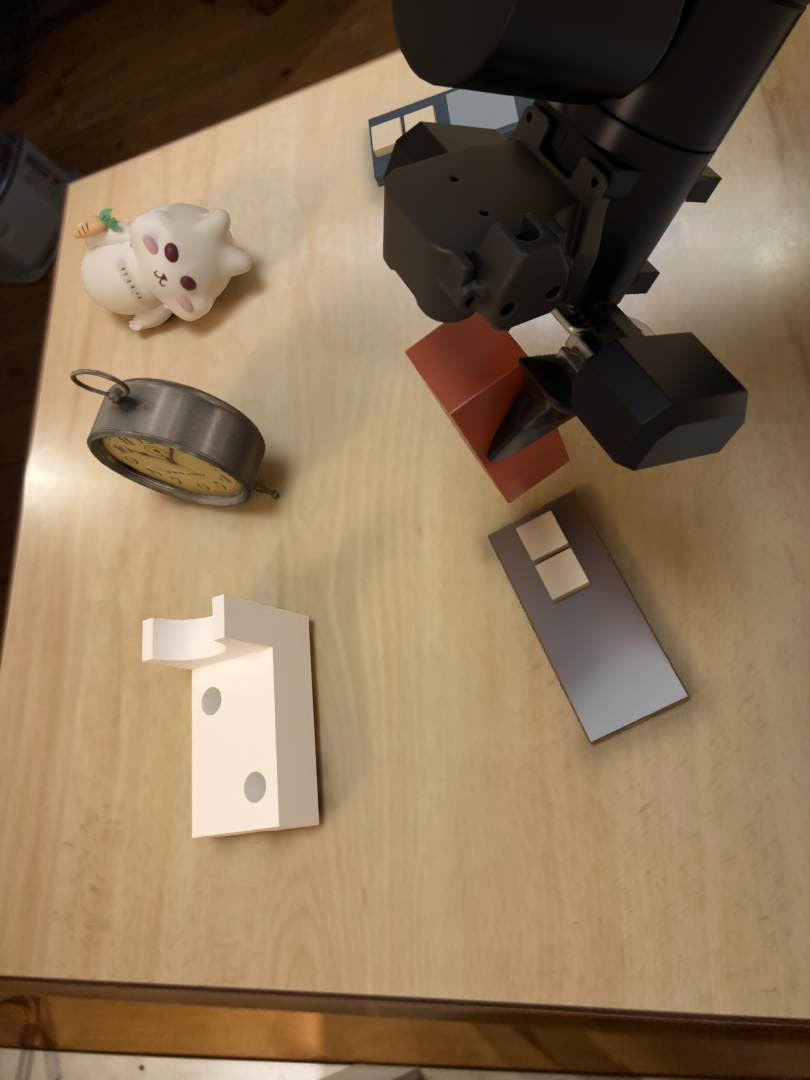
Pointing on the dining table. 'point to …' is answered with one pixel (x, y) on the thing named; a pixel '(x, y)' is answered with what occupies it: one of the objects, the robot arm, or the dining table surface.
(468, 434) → the terracotta brick
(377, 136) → the board
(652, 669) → the board
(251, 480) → the alarm clock
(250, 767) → the bracket
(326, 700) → the dining table surface
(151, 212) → the cat figurine
